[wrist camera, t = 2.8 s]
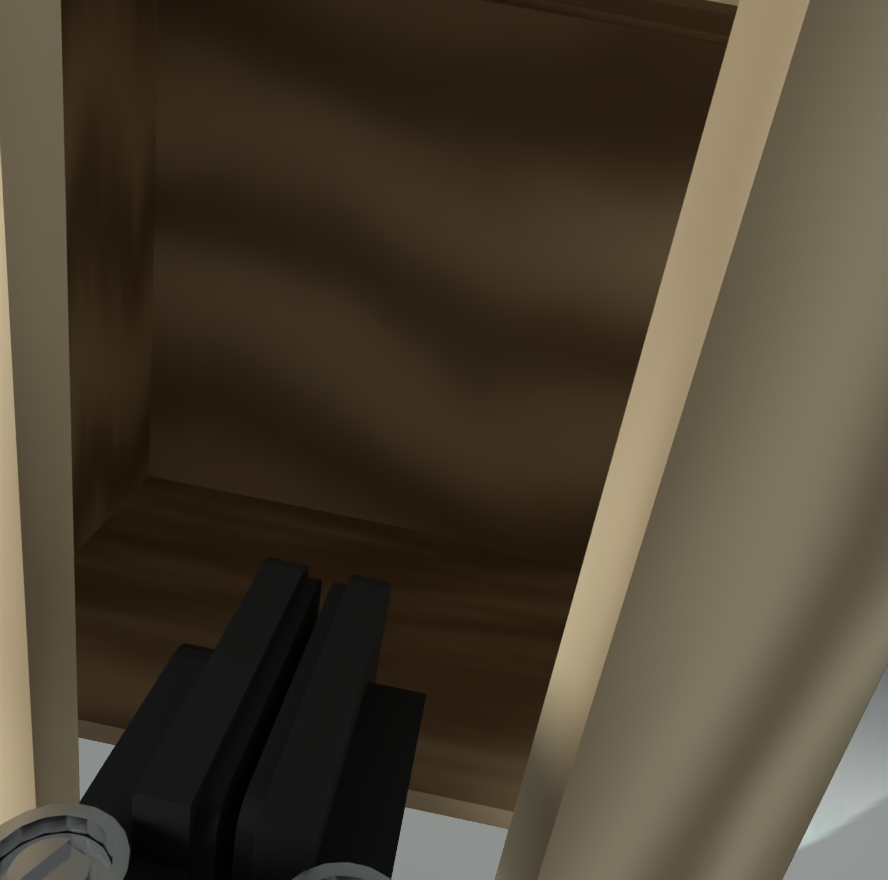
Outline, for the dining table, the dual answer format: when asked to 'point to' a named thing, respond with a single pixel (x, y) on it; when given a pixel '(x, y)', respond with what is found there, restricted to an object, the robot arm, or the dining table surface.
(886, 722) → the dining table surface
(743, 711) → the flap
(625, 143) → the carton
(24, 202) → the flap
